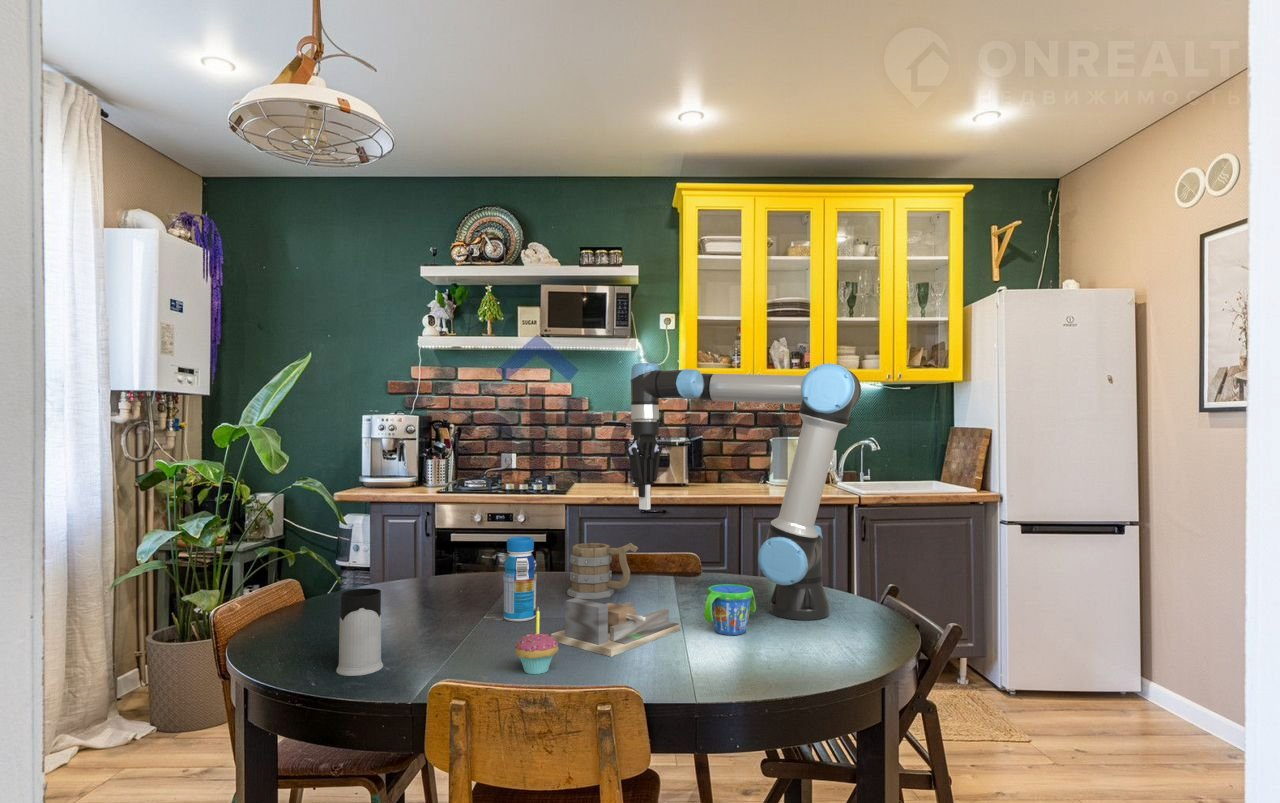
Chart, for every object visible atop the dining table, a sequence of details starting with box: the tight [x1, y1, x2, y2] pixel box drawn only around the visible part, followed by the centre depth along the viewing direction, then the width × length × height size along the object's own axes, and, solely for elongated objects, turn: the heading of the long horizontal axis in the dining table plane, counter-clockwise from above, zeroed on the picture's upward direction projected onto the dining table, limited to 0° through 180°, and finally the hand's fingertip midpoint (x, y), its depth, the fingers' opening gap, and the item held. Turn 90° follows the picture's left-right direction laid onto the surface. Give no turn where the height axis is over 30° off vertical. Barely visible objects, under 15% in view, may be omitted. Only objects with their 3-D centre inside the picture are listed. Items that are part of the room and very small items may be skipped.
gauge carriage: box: [605, 602, 646, 632], centre depth 162 cm, size 13×6×5 cm, turn 51°
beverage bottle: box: [502, 536, 538, 623], centre depth 179 cm, size 8×8×20 cm
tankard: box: [566, 542, 639, 601], centre depth 204 cm, size 20×13×15 cm, turn 80°
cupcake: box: [515, 606, 560, 675], centre depth 140 cm, size 9×8×12 cm
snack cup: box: [703, 583, 757, 636], centre depth 167 cm, size 16×10×10 cm
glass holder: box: [335, 587, 384, 677], centre depth 144 cm, size 9×14×15 cm, turn 24°
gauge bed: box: [550, 597, 681, 658], centre depth 164 cm, size 18×25×10 cm
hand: (644, 509), depth 189 cm, fingers closed
